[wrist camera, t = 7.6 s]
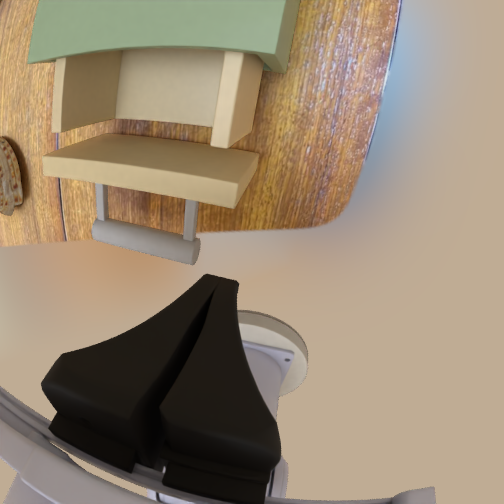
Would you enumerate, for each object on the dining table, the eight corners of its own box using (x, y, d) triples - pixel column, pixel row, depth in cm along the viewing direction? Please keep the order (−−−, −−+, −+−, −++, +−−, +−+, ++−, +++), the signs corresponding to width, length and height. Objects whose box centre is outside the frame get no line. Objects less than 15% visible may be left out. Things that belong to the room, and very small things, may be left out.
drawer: (244, 238, 21) (221, 298, 15) (106, 208, 22) (53, 250, 16) (291, -10, 12) (285, -60, 6) (126, -9, 13) (65, -32, 7)
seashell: (16, 233, 23) (-36, 214, 19) (35, 203, 27) (-14, 188, 24) (21, 163, 19) (-37, 146, 15) (44, 140, 23) (-10, 126, 19)
